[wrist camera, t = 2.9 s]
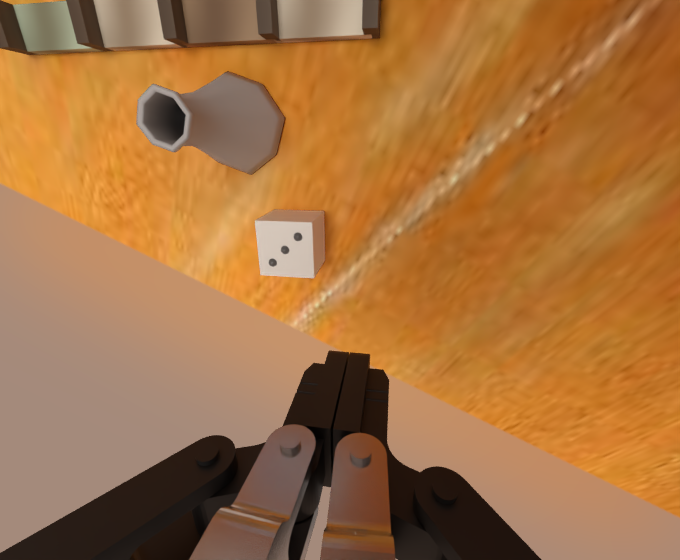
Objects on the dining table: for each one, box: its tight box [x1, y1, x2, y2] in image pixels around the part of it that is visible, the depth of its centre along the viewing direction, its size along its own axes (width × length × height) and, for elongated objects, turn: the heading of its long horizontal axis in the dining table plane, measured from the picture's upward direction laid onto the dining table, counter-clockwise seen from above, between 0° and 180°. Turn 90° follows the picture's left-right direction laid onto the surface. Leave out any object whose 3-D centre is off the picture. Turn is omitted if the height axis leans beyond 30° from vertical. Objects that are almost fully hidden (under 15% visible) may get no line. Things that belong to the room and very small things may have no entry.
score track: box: [0, 0, 381, 55], centre depth 24 cm, size 29×3×2 cm, turn 90°
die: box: [255, 209, 325, 278], centre depth 28 cm, size 5×5×5 cm
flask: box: [137, 71, 285, 175], centre depth 23 cm, size 7×7×10 cm
